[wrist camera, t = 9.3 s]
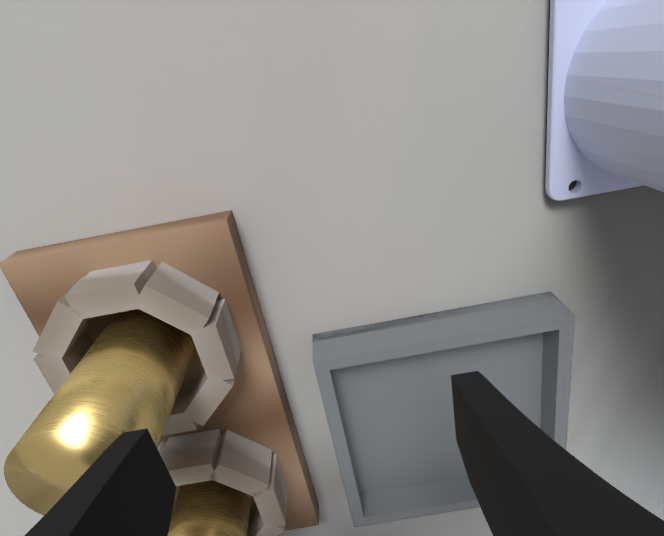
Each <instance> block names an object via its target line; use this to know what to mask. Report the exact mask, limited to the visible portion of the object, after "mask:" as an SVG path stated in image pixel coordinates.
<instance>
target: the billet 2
mask: <svg viewBox="0 0 664 536" xmlns="http://www.w3.org/2000/svg"><path fill="white" fill-rule="evenodd" d="M251 499H252V496H251V495H249V494H246V493H244V492H241V491H239V490H236V489H234V488H231V487H229V486H226V485H224V484H222V483H219V482H217V481H214V480H209V481H204V482H198V483H192V484H186V485H181V486H180V489H179V492H178V496H177V499H176V502H175V506H174V509H173V512H172V516H171V522H170V527H169V532H168V536H247V529H248V522H249V514H250V507H251Z"/></svg>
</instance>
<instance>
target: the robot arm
mask: <svg viewBox="0 0 664 536" xmlns="http://www.w3.org/2000/svg"><path fill="white" fill-rule="evenodd" d="M575 180H576V186H575V187H574V188H573V189H572V190H570V191H569V189H568V187H569V184H570V183H571V182H572V181H575ZM643 185H645V186H648V187H651V188H653V189H656V190H659V191H661V192H664V0H550V34H549V71H548V108H547V146H546V183H545V190H546V194H547V195H548V197H550V198H551V199H553V200H556V201H563V200H569V199H574V198H579V197H585V196H590V195H595V194H601V193H606V192H611V191H617V190H622V189H627V188H633V187H638V186H643ZM451 384H452V396H453V408H454V420H455V432H456V441H457V444H458V447H459V450H460V453H461V457H462V460H463V463H464V466H465V469H466V472H467V475H468V478H469V481H470V484H471V486H472V488H473V491H474V493H475V495H476V498H477V500H478V502H479V504H480V507H481V509H482V511H483V514H484V516H485V518H486V520H487V523H488V525H489V527H490V529H491V532H492V534H493V536H664V521H663V520H662V519H660V518H658V517H657V516H655V515H654V514H652V513H651V512H649V511H648V510H646V509H645V508H643V507H642V506H640V505H639V504H638V503H636V502H635V501H633V500H632V499H630V498H629V497H627V496H626V495H625V494H623V493H622V492H620V491H619V490H617V489H616V488H615V487H613V486H612V485H611V484H609V483H608V482H606V481H605V480H604V479H602V478H601V477H600V476H598V475H597V474H596V473H594V472H593V471H592V470H590V469H589V468H588V467H587V466H585V465H584V464H583V463H581V462H580V461H579V460H578V459H576V458H575V457H574V456H572V455H571V454H570V453H569V452H568V451H566V450H565V449H564V448H563V447H561V446H560V445H559V444H558V443H557V442H555V441H554V440H553V439H552V438H551V437H549V436H548V435H547V434H546V433H545V432H544V431H543V430H541V429H540V428H539V427H538V426H537V425H536V424H534V423H533V422H532V421H531V420H530V419H529V418H528V417H526V416H525V415H524V414H523V413H522V412H521V411H520V410H519V409H518V408H517V407H516V406H514V405H513V404H512V403H511V402H510V401H509V400H508V399H507V398H506V397H505V396H504V395H503V394H502V393H501V392H500V391H499V390H498V389H497V388H496V387H495V386H494V385H493V384H492V383H491V382H490V381H489V380H488V379H487V378H486V377H485V376H484V375H483V374H481V373H480V372H478V371H473V372H467V373H461V374H456V375H451ZM175 492H176V486H175V484H174V482H173V479H172V477H171V475H170V473H169V471H168V469H167V467H166V465H165V463H164V461H163V459H162V457H161V455H160V453H159V451H158V449H157V447H156V445H155V443H154V441H153V439H152V437H151V435H150V433H149V431H148V429H147V428H146V429H140V430H135V431H129V432H123V433H122V434H121V435H120V436H119V437H118V438H117V439H116V440H115V441H114V442H113V443H112V444H111V445H110V446H109V447H108V448H107V449H106V450H105V451H104V452H103V453H102V454H101V455H100V456H99V457H98V458H97V460H96V461H95V462H94V463H93V464H92V465H91V466H90V467H89V468H88V469H87V470H86V471H85V473H84V474H83V475H82V476H81V477H80V478H79V479H78V480H77V481H76V482H75V483H74V484H73V486H72V487H71V488H70V489H69V490H68V491H67V492H66V493H65V494H64V495H63V496H62V497H61V498H60V499H59V501H58V502H57V503H56V504H55V505H54V506H53V507H52V508H51V509H50V510H49V511H48V512H47V513H46V514H45V515H44V516H43V518H42V519H41V520H40V521H39V522H38V523H37V524H36V525H35V526H34V527H33V528H32V529H31V530H30V531H29V532H28V533H27V534H26V535H25V536H168V532H169V527H170V522H171V516H172V511H173V505H174V498H175Z"/></svg>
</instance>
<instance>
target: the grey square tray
mask: <svg viewBox="0 0 664 536" xmlns="http://www.w3.org/2000/svg"><path fill="white" fill-rule="evenodd" d="M574 319H575V315H574V314H573V313H572V312H571V311H570V310H569V309H568V308H567V307H566V306H565V305H564V304H563V303H562V302H561V301H560V300H559V299H558V298H557V297H556V296H555V295H554V294H553V293H552V292H547V293H541V294H536V295H530V296H525V297H519V298H514V299H508V300H503V301H497V302H491V303H486V304H480V305H475V306H469V307H464V308H458V309H453V310H447V311H442V312H436V313H430V314H425V315H419V316H414V317H408V318H403V319H397V320H392V321H386V322H380V323H375V324H369V325H364V326H358V327H353V328H347V329H342V330H336V331H330V332H325V333H319V334H314V335H313V364H314V368H315V372H316V376H317V380H318V384H319V388H320V392H321V396H322V400H323V404H324V408H325V412H326V416H327V420H328V424H329V428H330V432H331V436H332V440H333V444H334V448H335V452H336V456H337V460H338V464H339V468H340V472H341V476H342V480H343V484H344V488H345V492H346V496H347V500H348V504H349V508H350V512H351V516H352V520H353V524H354V527H359V526H365V525H371V524H377V523H383V522H389V521H395V520H402V519H408V518H414V517H420V516H426V515H432V514H438V513H445V512H451V511H457V510H463V509H469V508H475V507H480V504H479V502H478V500H477V498H476V495H475V493H474V491H473V488H472V486H471V484H470V481H469V478H468V475H467V472H466V469H465V466H464V463H463V460H462V457H461V453H460V450H459V447H458V444H457V441H456V432H455V420H454V408H453V396H452V384H451V375H456V374H461V373H467V372H473V371H478V372H480V373H481V374H483V375H484V376H485V377H486V378H487V379H488V380H489V381H490V382H491V383H492V384H493V385H494V386H495V387H496V388H497V389H498V390H499V391H500V392H501V393H502V394H503V395H504V396H505V397H506V398H507V399H508V400H509V401H510V402H511V403H512V404H513V405H514V406H516V407H517V408H518V409H519V410H520V411H521V412H522V413H523V414H524V415H525V416H526V417H528V418H529V419H530V420H531V421H532V422H533V423H534V424H536V425H537V426H538V427H539V428H540V429H541V430H543V431H544V432H545V433H546V434H547V435H548V436H549V437H551V438H552V439H553V440H554V441H555V442H557V443H558V444H559V445H560V446H561V447H563V448H564V449H565V450H566V443H567V427H568V412H569V396H570V381H571V365H572V350H573V334H574Z"/></svg>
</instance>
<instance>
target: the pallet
mask: <svg viewBox="0 0 664 536" xmlns="http://www.w3.org/2000/svg"><path fill="white" fill-rule="evenodd" d="M0 268H1V270H2V271H3V273H4V275H5V277H6V279H7V280H8V282H9V284H10V286H11V287H12V289H13V291H14V293H15V294H16V296H17V298H18V300H19V301H20V303H21V305H22V307H23V309H24V310H25V312H26V314H27V316H28V317H29V319H30V321H31V323H32V324H33V326H34V328H35V330H36V332H37V333H38V335H39V339H38V341H37V343H36V345H35V347H34V349H33V351H34V352H37V353H38V354H37V356H36V357H35V358H34V360H35V362H36V364H37V366H38V367H39V369H40V371H41V372H42V374H43V376H44V378H45V379H46V381H47V383H48V384H49V386H50V388H51V389H52V391H53V393H54V394H55V393H56V392H57V390H58V389H59V388H60V387H61V385H62V384H63V383H64V381H65V380H66V379H67V377H68V376H69V375H70V373H71V372H72V371H73V370H74V368H75V367H76V366H77V364H78V363H79V362H80V360H81V359H82V358H83V356H84V355H85V354H86V353H87V351H88V350H89V349H90V347H91V346H92V345H93V343H94V342H95V341H96V339H97V338H98V337H99V336H100V334H101V333H102V332H103V330H104V329H105V328H106V326H107V325H108V324H109V322H110V321H111V320H112V318H113V317H114V316H115V315H116V314H117V313H118V312H124V311H129V310H135V309H140V310H142V311H144V312H146V313H148V314H150V315H152V316H154V317H156V318H158V319H160V320H162V321H164V322H166V323H168V324H170V325H172V326H174V327H176V328H178V329H180V330H182V331H184V332H186V333H188V334H190V335H191V336H192V339H193V341H194V344H195V347H196V349H195V352H194V355H193V357H192V360H191V362H190V365H189V367H188V370H187V372H186V375H185V377H184V380H183V383H182V385H181V388H180V390H179V393H178V395H177V398H176V400H175V403H174V405H173V408H172V410H171V413H170V415H169V418H168V420H167V423H166V425H165V428H164V431H163V433H162V436H161V438H160V441H159V443H158V446H157V449H158V451H159V453H160V455H161V457H162V459H163V461H164V463H165V465H166V467H167V469H168V471H169V473H170V475H171V477H172V479H173V482H174V484H175V486H176V492H175V498H174V505H173V509H174V506H175V502H176V499H177V496H178V492H179V489H180V486H181V485H186V484H192V483H198V482H204V481H209V480H214V481H217V482H219V483H222V484H224V485H226V486H229V487H231V488H234V489H236V490H239V491H241V492H244V493H246V494H249V495H251V496H252V499H251V507H250V514H249V522H248V529H247V536H279V535H280V534H281V533H282V532H283V531H285V530H291V529H297V528H303V527H309V526H315V525H319V510H318V502H317V499H316V495H315V492H314V488H313V485H312V482H311V478H310V475H309V471H308V468H307V465H306V461H305V458H304V455H303V451H302V448H301V444H300V441H299V438H298V434H297V431H296V427H295V424H294V421H293V417H292V414H291V410H290V407H289V404H288V400H287V397H286V394H285V390H284V387H283V383H282V380H281V377H280V373H279V370H278V366H277V363H276V360H275V356H274V353H273V349H272V346H271V343H270V339H269V336H268V333H267V329H266V326H265V322H264V319H263V316H262V312H261V309H260V305H259V302H258V299H257V295H256V292H255V288H254V285H253V282H252V278H251V275H250V272H249V268H248V265H247V261H246V258H245V255H244V251H243V248H242V244H241V241H240V238H239V234H238V231H237V227H236V224H235V221H234V217H233V214H232V210H231V211H226V212H221V213H216V214H210V215H205V216H200V217H195V218H189V219H184V220H179V221H174V222H169V223H163V224H158V225H153V226H148V227H143V228H137V229H132V230H127V231H122V232H117V233H111V234H106V235H101V236H96V237H91V238H85V239H80V240H75V241H70V242H65V243H59V244H54V245H49V246H44V247H39V248H33V249H28V250H23V251H18V252H16V253H14V254H13V255H11V256H10V257H8V258H7V259H5V260H3V261H2V262H0ZM172 512H173V511H172Z"/></svg>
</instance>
